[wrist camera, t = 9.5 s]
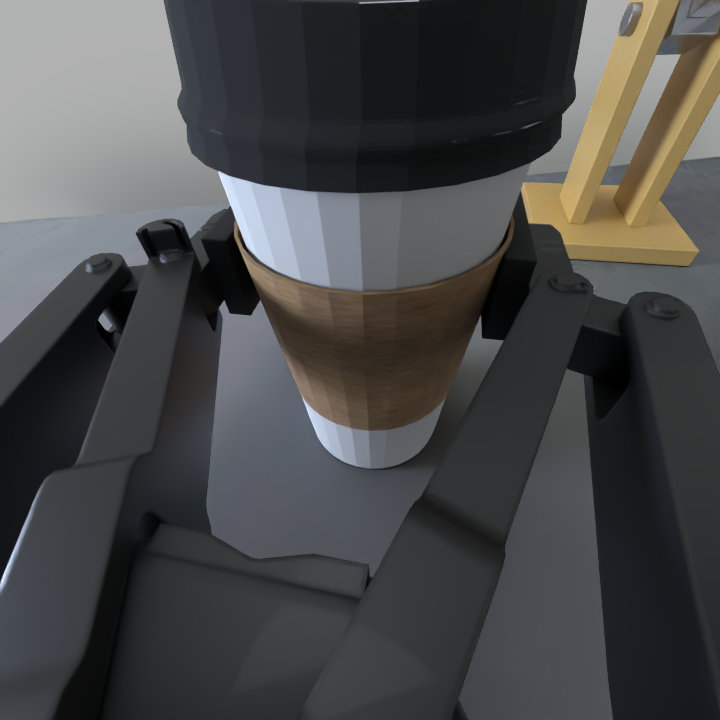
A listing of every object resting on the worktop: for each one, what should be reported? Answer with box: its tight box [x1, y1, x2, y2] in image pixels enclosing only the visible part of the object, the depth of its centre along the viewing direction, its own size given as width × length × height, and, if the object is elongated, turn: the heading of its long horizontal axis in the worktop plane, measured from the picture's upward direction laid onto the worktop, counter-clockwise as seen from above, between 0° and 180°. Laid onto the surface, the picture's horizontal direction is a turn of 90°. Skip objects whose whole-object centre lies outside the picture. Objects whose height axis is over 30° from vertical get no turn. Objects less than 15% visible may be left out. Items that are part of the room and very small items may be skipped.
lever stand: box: [521, 0, 720, 266], centre depth 24 cm, size 10×10×14 cm
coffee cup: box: [164, 0, 587, 469], centre depth 12 cm, size 8×8×15 cm
